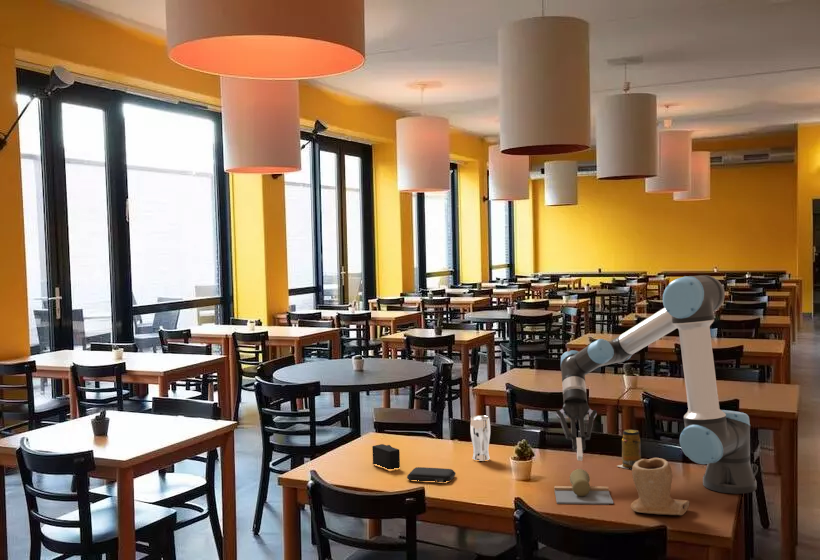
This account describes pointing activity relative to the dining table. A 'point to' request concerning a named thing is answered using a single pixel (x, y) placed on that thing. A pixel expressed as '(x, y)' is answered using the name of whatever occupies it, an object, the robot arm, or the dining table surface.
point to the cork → (580, 482)
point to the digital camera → (386, 456)
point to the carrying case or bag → (431, 474)
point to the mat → (593, 497)
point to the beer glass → (480, 437)
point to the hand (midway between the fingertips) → (580, 458)
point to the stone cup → (655, 488)
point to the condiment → (630, 448)
